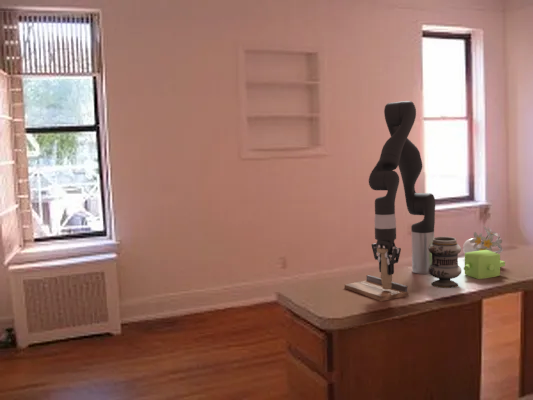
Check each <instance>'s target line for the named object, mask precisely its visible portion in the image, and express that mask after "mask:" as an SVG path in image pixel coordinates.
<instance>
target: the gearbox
mask: <svg viewBox="0 0 533 400" xmlns="http://www.w3.org/2000/svg"><path fill="white" fill-rule="evenodd" d="M492 251H493V250H492ZM492 251H489V250H480V251H473V252H467V253H464V267H463V270H464V275H465V276H468V277H470V278H474V279H477V280H483V279H489V278H490V279H491V278H495V277H499V276H500V275H501V267H506V261H504V260H501V253H499V254H498V253H495V251H493V252H492Z"/></svg>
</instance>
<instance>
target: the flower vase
mask: <svg viewBox="0 0 533 400" xmlns="http://www.w3.org/2000/svg"><path fill="white" fill-rule="evenodd" d="M482 227H483V228H484V230H485V232H486V234H487V235H486V237H485V236H483V233H482V232H481V233H479V234H478V233H477V232H476V231H474V232H473V237H474V238H473V237H472V238H469V239H466V240H465V241H464V243H463V245H462V251H463V254H465V253H467V252H473V251H480V250H489V251H492V252H495V253H497V254H501V253H502V252H503V251H504V249H503V246H502V245H501V244H502V243H503V239H502V238H501V233H498V232H495V231H492V228H491V227H489V226H487V227H486V226H485V225H482ZM494 236H496V237H497V238H496V239H495V241H493V240H494ZM494 247H495V248H496V247H497V248H498V250H496V251H493V248H494Z"/></svg>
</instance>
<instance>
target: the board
mask: <svg viewBox="0 0 533 400" xmlns="http://www.w3.org/2000/svg"><path fill="white" fill-rule="evenodd" d="M382 285H383V284H382V281H381V277H378V276H374V275H371V274H368V275H366V280H362V281H355V282H351V283H346V284H344V289H346V290H348V291H351V292H354V293H357V294H360V295H363V296H366V297H369V298H371V299H374V300H377V301H380V302H384V301H390V300H394V299H399V298H403V297H407V296H409V291H408V290H409V289H408V286H407V285H404V284H402V283H398V282H394V281H392V284H391V285H392V287H391V289H383V288H382Z"/></svg>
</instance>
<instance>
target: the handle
mask: <svg viewBox="0 0 533 400" xmlns="http://www.w3.org/2000/svg"><path fill="white" fill-rule="evenodd" d="M386 251H387V252H388V249H386V250H385V249H383V248H377V252H378V253H380V254H381V272H380V278H381V281H382V284H383V285H382V288H383V289H391V287H392V285H391V284H392V282H393V274H392V275H388V271H387V265H388V263H387V259H386V258H385V253H386ZM378 253H377V254H378ZM390 255H391V254H389V256H390ZM390 261H391V258H390Z"/></svg>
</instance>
